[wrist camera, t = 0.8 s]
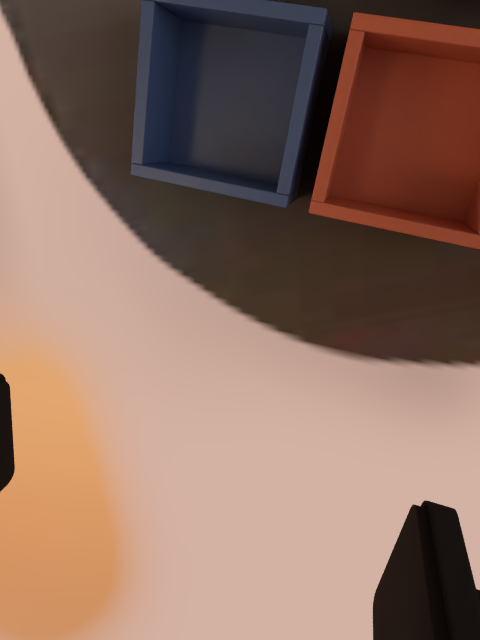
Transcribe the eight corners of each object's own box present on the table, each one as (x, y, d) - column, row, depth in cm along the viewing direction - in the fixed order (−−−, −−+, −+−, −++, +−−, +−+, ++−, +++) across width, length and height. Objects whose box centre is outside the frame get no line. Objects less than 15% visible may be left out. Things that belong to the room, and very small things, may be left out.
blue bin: (176, 6, 30) (142, -18, 26) (333, 29, 29) (327, 7, 24) (160, 170, 35) (129, 175, 30) (296, 198, 33) (286, 208, 28)
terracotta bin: (355, 32, 28) (353, 11, 24) (535, 58, 27) (571, 41, 22) (316, 202, 33) (308, 213, 28) (469, 234, 31) (487, 251, 26)
